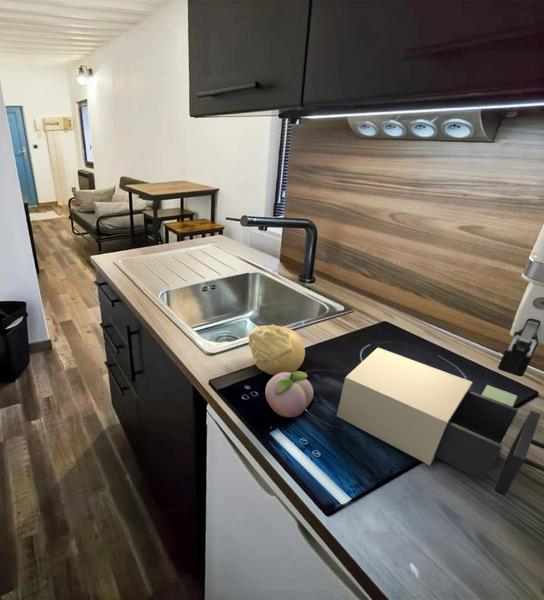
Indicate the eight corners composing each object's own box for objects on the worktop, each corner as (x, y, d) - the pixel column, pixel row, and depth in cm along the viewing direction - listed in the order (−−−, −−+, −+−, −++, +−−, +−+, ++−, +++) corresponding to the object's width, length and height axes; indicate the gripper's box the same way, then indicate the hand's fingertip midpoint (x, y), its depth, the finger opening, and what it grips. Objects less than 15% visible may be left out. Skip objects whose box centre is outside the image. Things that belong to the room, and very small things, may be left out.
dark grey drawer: (566, 468, 58) (589, 432, 55) (553, 522, 51) (579, 484, 48) (421, 405, 72) (433, 373, 69) (395, 440, 65) (406, 407, 62)
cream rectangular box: (455, 422, 69) (472, 381, 65) (429, 465, 61) (447, 422, 57) (367, 383, 80) (377, 347, 76) (336, 416, 72) (345, 377, 68)
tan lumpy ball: (239, 360, 90) (242, 323, 86) (279, 349, 94) (283, 312, 89) (269, 388, 81) (274, 347, 76) (312, 373, 84) (319, 334, 80)
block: (508, 413, 70) (517, 395, 68) (503, 424, 68) (512, 406, 66) (479, 402, 74) (487, 384, 72) (473, 412, 71) (481, 394, 69)
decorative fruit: (277, 392, 79) (282, 354, 75) (315, 411, 74) (322, 371, 69) (254, 415, 74) (258, 375, 69) (292, 437, 68) (299, 395, 64)
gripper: (587, 296, 51) (536, 393, 58) (597, 264, 60) (552, 351, 68) (514, 281, 56) (475, 372, 63) (534, 254, 65) (499, 335, 73)
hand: (515, 361), depth 65 cm, fingers open, 9 cm apart
